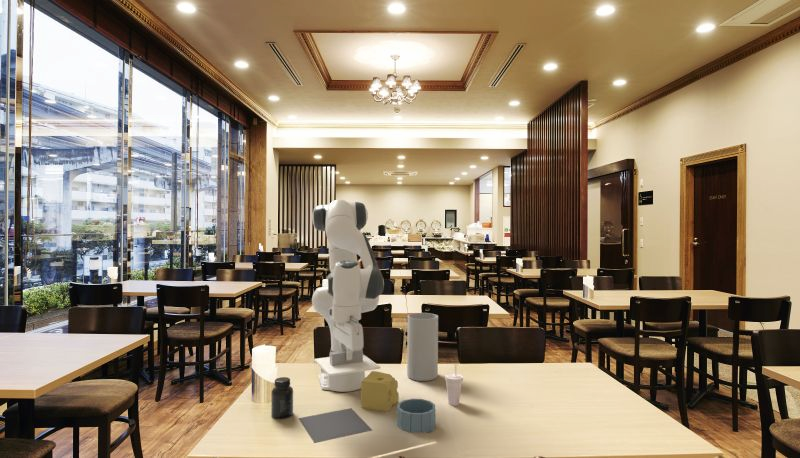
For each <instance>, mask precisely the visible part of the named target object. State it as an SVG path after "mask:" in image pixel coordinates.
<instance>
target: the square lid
mask: <svg viewBox="0 0 800 458" xmlns="http://www.w3.org/2000/svg"><path fill="white" fill-rule="evenodd" d="M346 351H347V350H345V351H337V352H330V351H329V354H330V357H329V356H327V357H319V358H314V359H313V361H314V362H315V364H317V366H319V367H320V368H322V369H323V370H324V371H325V372H326V373H327V374H328V375H329V376H334V375H341V374H348V373H354V372H361V371H365V372H366V371H375V370H380V369H381V366H380V365H379V364H377V363H376V362H374V361H373V360H372V359H371V358H369V357H368V356H367V355H365V354H364V351H363V349H362V350H358V351H353V354H352V360H346V359H345V354H346Z"/></svg>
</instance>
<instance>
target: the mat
mask: <svg viewBox="0 0 800 458" xmlns="http://www.w3.org/2000/svg"><path fill="white" fill-rule="evenodd" d="M298 420H299V422H300V423H301V425H302V426H303V427H304V430H305V431H306V432H307V434H308V435H309V437H310V438H311V440H312V441H313V443H314V444H315V443H320V442H325V441H330V440H334V439H338V438H344V437H348V436H352V435H356V434H362V433H365V432H371V431H373V429H372V428H371V427H370V425H369V424H367V423H366V422H365V420H363V418H362V417H361V416H359V414H357V412H356V411H355V410H354V409H353V408H352V407H350V408H345V409H340V410H333V411H329V412H324V413H319V414H315V415H308V416H303V417H299V418H298Z"/></svg>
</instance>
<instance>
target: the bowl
mask: <svg viewBox="0 0 800 458" xmlns="http://www.w3.org/2000/svg"><path fill="white" fill-rule="evenodd" d="M396 412H397V413H396V419H397V420H396V425H397V427H398V428H399V429H400V430H401V431H405V432H408V433H414V434H415V433H420V434H421V433H427V434H428V433H430V432H433V431H434V430H435V429H436V404H435V403H434V402H432V401H431V400H427V399H425V398H424V399H423V398H409V399H403V400H401V401H400V402H397V407H396ZM433 429H434V430H433Z"/></svg>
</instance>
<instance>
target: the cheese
mask: <svg viewBox="0 0 800 458" xmlns="http://www.w3.org/2000/svg"><path fill="white" fill-rule="evenodd" d="M398 388H399V384H398V380H397V379H395V377H393V375H391V374H390V373H387V372H386V373H385V372H381V371H375V370H371V372H369V374H368V375H367V376H365V379H363V380H362V382H361V388H360V405H361V409H368V410H375V411H376V410H377V411H383V412H389V411H390V410H391V409H392V407H393V406H395V405H396V404H398V403H399V398H400V397H399V392H398Z"/></svg>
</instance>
